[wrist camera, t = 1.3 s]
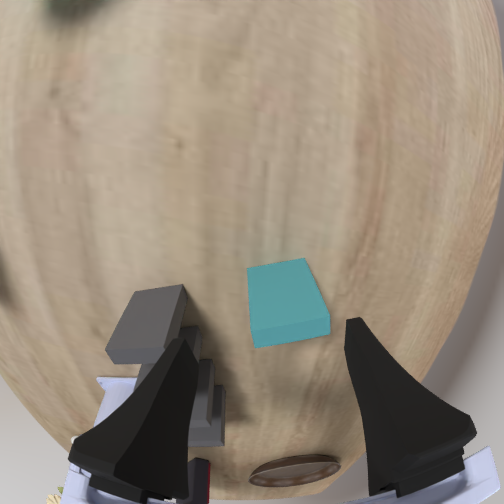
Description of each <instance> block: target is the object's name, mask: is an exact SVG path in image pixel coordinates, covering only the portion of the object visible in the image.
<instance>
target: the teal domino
mask: <svg viewBox="0 0 504 504" xmlns="http://www.w3.org/2000/svg"><path fill="white" fill-rule="evenodd" d="M247 275H248V292H249V310H250V327H251V334H252V338H253V342H254V346H255V348H260V347H266V346H272V345H278V344H284V343H289V342H294V341H300V340H305V339H309V338H314V337H319V336H324V335H328V334H330V314H329V312H328V310H327V307H326V305H325V303H324V301H323V298H322V296H321V294H320V291H319V289H318V287H317V285H316V282H315V280H314V278H313V276H312V274H311V271H310V269H309V267H308V265H307V263H306V260H305V258H301V259H296V260H291V261H285V262H280V263H274V264H268V265H263V266H257V267H252V268H247Z"/></svg>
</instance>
